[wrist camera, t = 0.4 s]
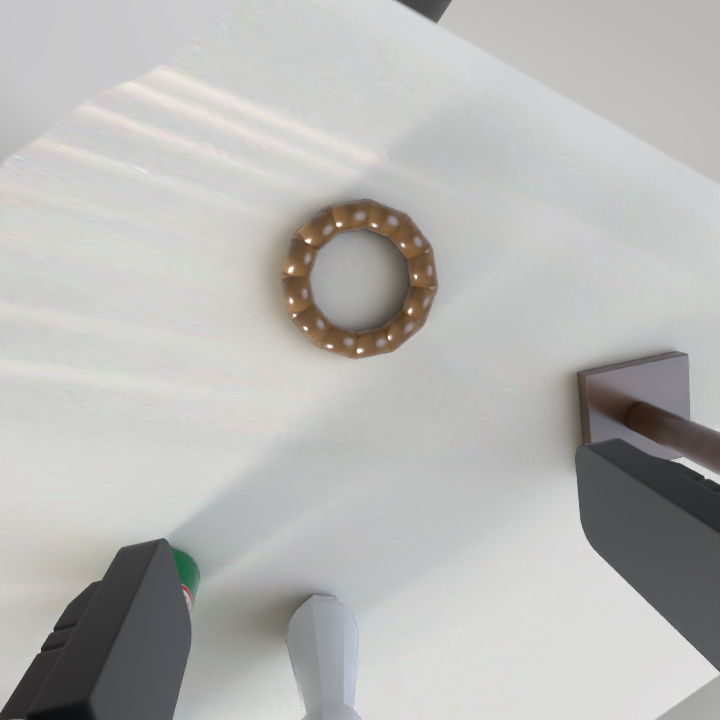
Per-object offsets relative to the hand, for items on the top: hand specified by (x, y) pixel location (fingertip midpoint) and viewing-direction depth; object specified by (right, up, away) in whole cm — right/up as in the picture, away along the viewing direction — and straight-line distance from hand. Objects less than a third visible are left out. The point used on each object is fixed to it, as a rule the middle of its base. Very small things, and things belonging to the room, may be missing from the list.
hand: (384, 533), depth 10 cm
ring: (0, +9, +28) cm, 29 cm away
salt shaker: (-4, -18, +34) cm, 39 cm away
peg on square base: (+22, -1, +34) cm, 41 cm away
